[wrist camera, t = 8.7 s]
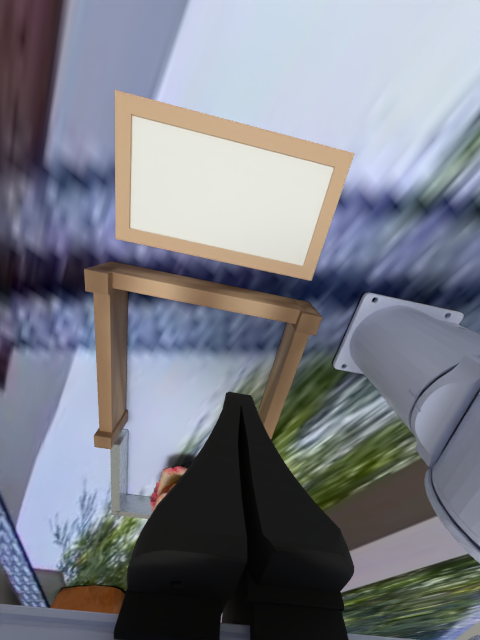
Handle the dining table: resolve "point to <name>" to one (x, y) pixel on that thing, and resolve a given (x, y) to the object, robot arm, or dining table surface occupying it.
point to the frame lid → (223, 187)
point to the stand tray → (125, 483)
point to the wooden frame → (120, 278)
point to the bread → (90, 599)
